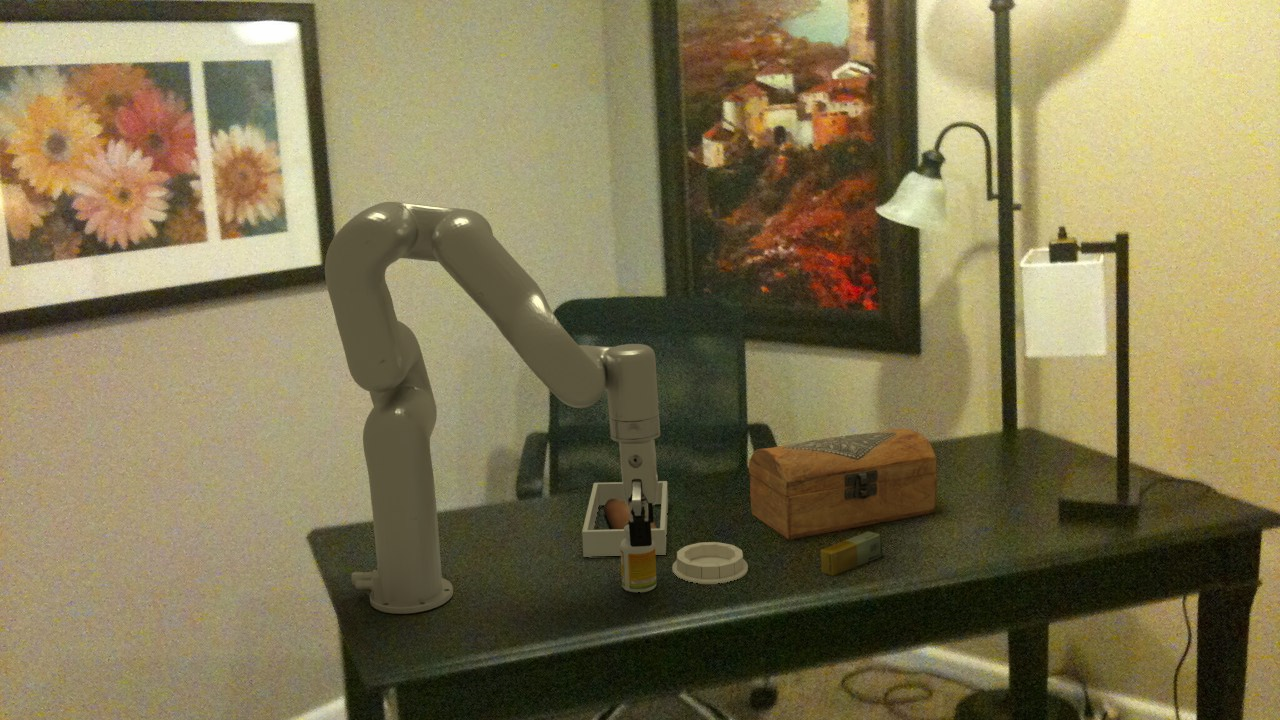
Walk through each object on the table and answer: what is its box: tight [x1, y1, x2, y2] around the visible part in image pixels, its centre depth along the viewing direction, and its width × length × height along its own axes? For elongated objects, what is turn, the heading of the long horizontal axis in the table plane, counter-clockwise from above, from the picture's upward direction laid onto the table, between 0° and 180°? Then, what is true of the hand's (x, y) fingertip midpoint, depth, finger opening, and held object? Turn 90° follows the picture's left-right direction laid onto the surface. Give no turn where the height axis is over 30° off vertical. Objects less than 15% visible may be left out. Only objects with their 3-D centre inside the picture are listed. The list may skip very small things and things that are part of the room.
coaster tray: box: [671, 541, 749, 585], centre depth 191 cm, size 12×12×3 cm
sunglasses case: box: [603, 498, 658, 530], centre depth 210 cm, size 18×7×7 cm
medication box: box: [820, 530, 883, 577], centre depth 191 cm, size 12×3×4 cm, turn 129°
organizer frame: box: [581, 480, 669, 558], centre depth 210 cm, size 14×26×4 cm, turn 178°
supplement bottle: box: [620, 524, 657, 593], centre depth 185 cm, size 5×5×10 cm
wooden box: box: [748, 428, 938, 540], centre depth 213 cm, size 30×16×14 cm, turn 109°
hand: (642, 533), depth 184 cm, fingers open, 9 cm apart
